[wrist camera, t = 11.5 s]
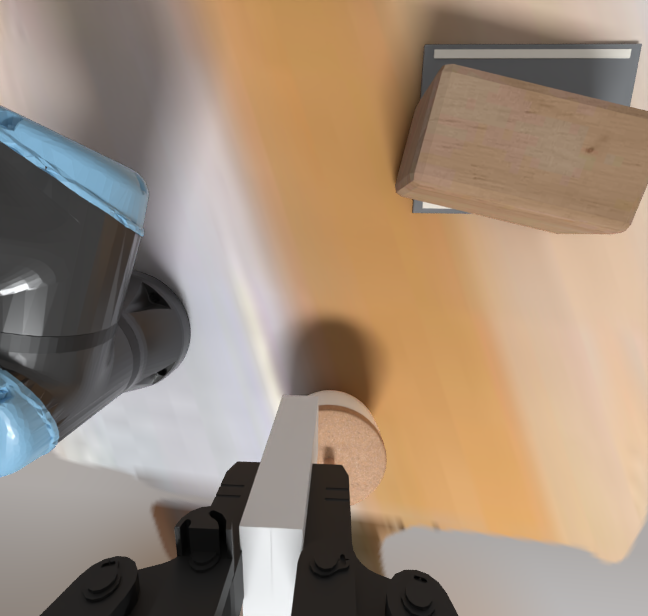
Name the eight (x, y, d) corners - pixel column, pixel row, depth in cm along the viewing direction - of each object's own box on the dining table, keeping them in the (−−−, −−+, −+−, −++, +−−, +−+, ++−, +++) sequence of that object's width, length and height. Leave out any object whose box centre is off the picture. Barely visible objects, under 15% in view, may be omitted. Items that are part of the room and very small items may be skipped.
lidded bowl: (377, 458, 48) (388, 524, 37) (287, 458, 49) (272, 523, 38) (378, 374, 45) (390, 419, 35) (282, 374, 46) (265, 419, 35)
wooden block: (443, 55, 28) (683, 113, 28) (416, 101, 38) (594, 144, 38) (408, 183, 30) (631, 236, 30) (391, 195, 40) (560, 235, 40)
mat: (412, 212, 41) (413, 212, 40) (424, 47, 37) (425, 44, 36) (605, 215, 40) (609, 215, 39) (637, 46, 36) (642, 43, 35)
